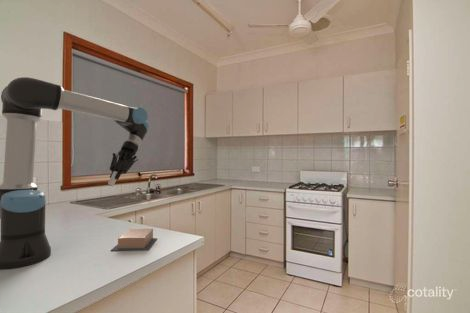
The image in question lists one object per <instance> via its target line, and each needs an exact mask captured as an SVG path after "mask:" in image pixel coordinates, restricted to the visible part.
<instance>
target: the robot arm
mask: <svg viewBox="0 0 470 313" xmlns="http://www.w3.org/2000/svg"><path fill="white" fill-rule="evenodd" d="M0 97H1V102H2V107H1V109H2V110H1V116H2V117H4V118H5V119H6V132H5V148H4V149H5V150H4V163H3V164H4V165H3V178H2V183H1V184H0V270H1V269H3V270H6V269H15V268H21V267H26V266H29V265H33V264H36V263H40V262H42V261H43V260H45V259H47V258H49V257H50V256H51V254H52V248H51V245H50V243H49V241H48V240H49V239H48V237H47V235H46V203H47V199H46V195H45V193H44V192H43V191H41V190H38V185H37V184H36V183H34V169H35V168H34V167H35V155H36V154H35V153H36V137H37V123H38V122H40V121H41V120H43V118H42V116H43V109H46V110H53V111H58V110H60V109H61V110H66V111H71V112H75V113H80V114H84V115H89V116H94V117H98V118H105V119H109V120H112V121H113V122H114V123H116V124H118V125H119V126H120V127H122V128H123V129H124V130H125V131H127V132H128V135H127V136H126V138H125V140H124V142H123V143H122V145H121V148H120V150H119V151H118V152H117V153H115V152H113V153H112V159H111V164H110V166H109V170H110V171H111V174H110V175H109V178H110V179H109V180H108V181H107V184H108V185H109V187H114V185H115V184H116V182H117V181H118V180H119V179H120V177H121V176H122V174H123V175H125V174H127V172H128V171H129V170H130V169H131V168H132V166H133V165H134V164H135V163H136V162H137V161H139V158H138V157H137V155H136V154H137V153H138V150H139V148H140V146H141V144H142V142H143V140H144V139H145V136H146V134H147V133H148V131H149V129H150V128H149V127H150V126H149V123H148V122H147V121H148V120H149V115H148V112H147V110H146V109H145V108H144V107H132V106H129V105H128V106H127V105H124V104H121V103H116V102H113V101H108V100H106V99H101V98H99V97H98V98H97V97H94V96H90V95H86V94H83V93H79V92H74V91H71V90H67V89H64V87H62V86H61V85H59V84H57V83H52V82H47V81H45V80H42V79H37V78H34V77H17V78H14V79H13V80H11V81H10V82H9V83H8V84H7V86H5V87H4V88H3V90H2V92H1V96H0Z"/></svg>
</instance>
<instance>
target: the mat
mask: <svg viewBox="0 0 470 313" xmlns="http://www.w3.org/2000/svg"><path fill="white" fill-rule="evenodd" d="M157 240H158V238H156V237H153V238H152V240H151V241H150V242H149V243H148V244H147V246H146V247H145V248H122V249H118V243H117V244H116V245H115V246H114V247H113V248H111V249H110V252H127V251H128V252H129V251H131V252H132V251H134V252H135V251H136V252H137V251H150V249H151V248H152V246H154V244H155V242H157Z"/></svg>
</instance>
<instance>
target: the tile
mask: <svg viewBox="0 0 470 313" xmlns="http://www.w3.org/2000/svg"><path fill="white" fill-rule="evenodd" d="M152 238H154V228H129V229H128V230H127V231H125V232H124V233H123V234H122V235H120V236H119V237H118V238H117V244H118V249H122V248H145V247H146V246H147V244H148V243H149V242H150V241H151V240H152Z"/></svg>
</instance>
